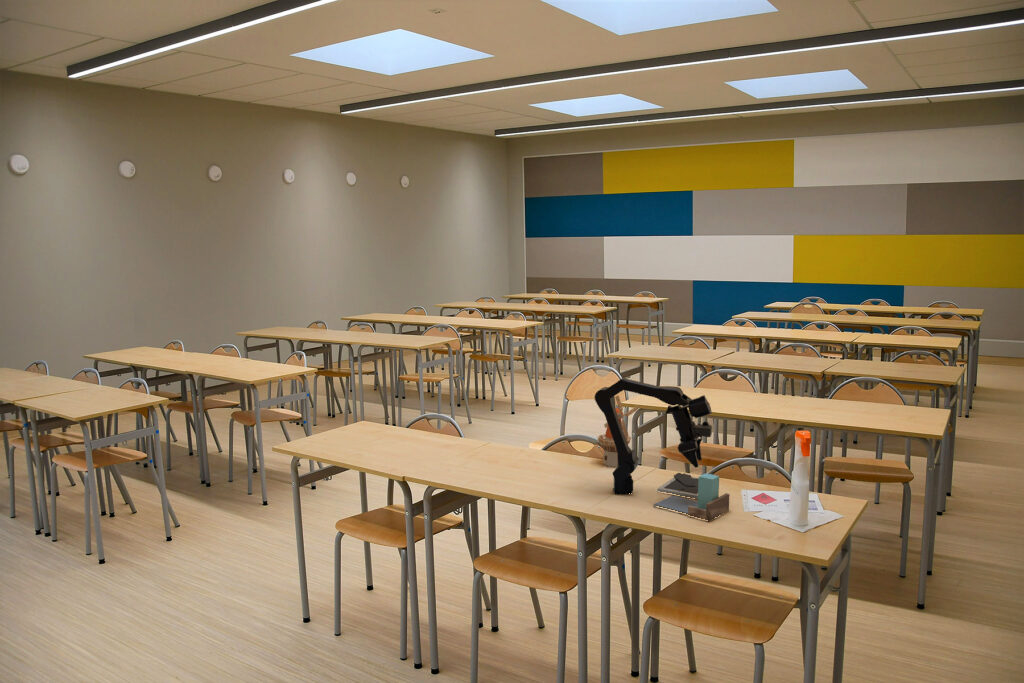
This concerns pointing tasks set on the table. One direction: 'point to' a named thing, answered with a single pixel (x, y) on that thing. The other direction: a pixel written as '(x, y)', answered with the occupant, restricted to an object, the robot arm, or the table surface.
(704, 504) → the teal block
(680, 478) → the picture frame
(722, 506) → the walnut slot rack
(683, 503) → the slate pad
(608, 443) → the windmill
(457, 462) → the table surface
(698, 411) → the robot arm
